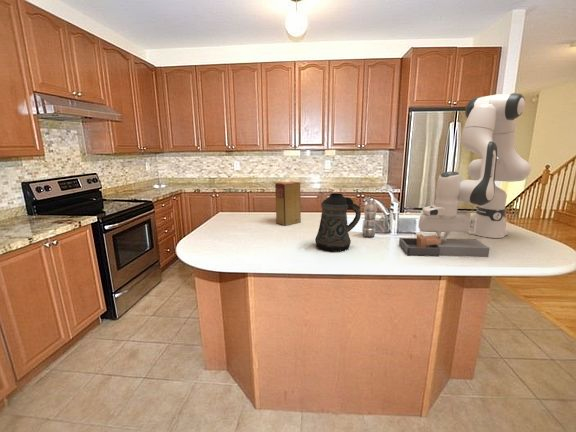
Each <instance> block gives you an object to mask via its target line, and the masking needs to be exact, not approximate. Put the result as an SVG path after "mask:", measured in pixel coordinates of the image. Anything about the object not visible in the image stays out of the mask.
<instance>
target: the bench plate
mask: <svg viewBox="0 0 576 432" xmlns="http://www.w3.org/2000/svg"><path fill="white" fill-rule="evenodd" d="M429 246H430V247H431V248H440V253H439V256H438V257H440V256H441V257H445V256H446V257H474V258H475V257H479V258H482V257H483V258H489V253H490V247H489V246H487V245H486V244H484V243H482V242H481V241H479V240H477V239H476V238H447V239H446V241H441V244H435V245H429Z"/></svg>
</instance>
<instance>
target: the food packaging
mask: <svg viewBox="0 0 576 432" xmlns="http://www.w3.org/2000/svg"><path fill="white" fill-rule="evenodd" d="M274 185H275V186H274V187H275V191H274V193H275V217H276V218H275V219H276V220H275V221H276V224H278V225H280V226H284V227H286V226H291V225H296V224H300V223H302V220H301V219H302V218H301V217H302V216H301V214H302V212H301V210H302V209H301V206H302V205H301V182H299V181H284V182H275V183H274Z"/></svg>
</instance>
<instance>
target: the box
mask: <svg viewBox="0 0 576 432" xmlns="http://www.w3.org/2000/svg"><path fill="white" fill-rule="evenodd" d="M398 245H399V247H400V249H402V250H403V252H404V253H405V254H407V255H406V256H412V257H413V256H415V257H440V256H439V253H440V248H431V247H430V246H429V245H426V248H422V247H417V237H416V238H415V237H399V242H398Z"/></svg>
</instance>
